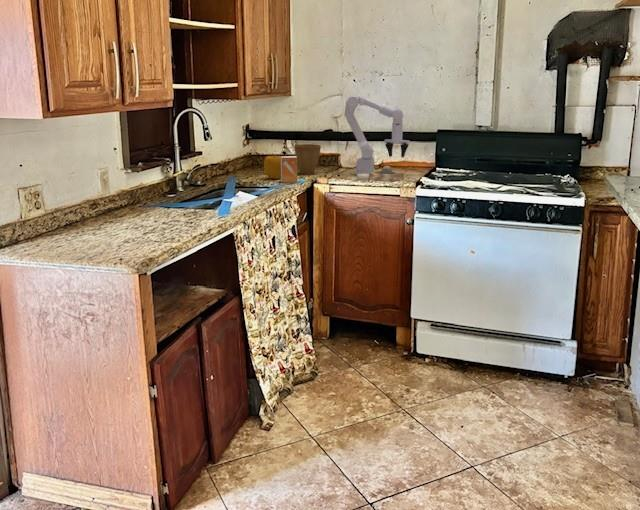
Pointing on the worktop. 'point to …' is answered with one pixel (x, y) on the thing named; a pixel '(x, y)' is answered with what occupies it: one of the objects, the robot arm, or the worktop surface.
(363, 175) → the pale grey block
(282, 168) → the small box
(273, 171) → the mustard rounded block
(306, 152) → the plant pot
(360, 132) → the robot arm
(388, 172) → the slate plug
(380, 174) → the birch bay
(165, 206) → the worktop surface
